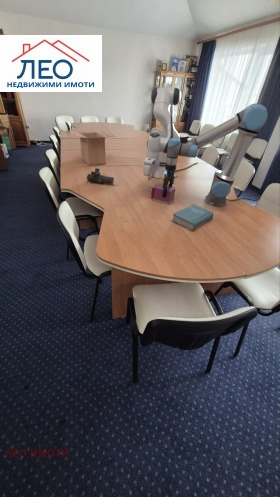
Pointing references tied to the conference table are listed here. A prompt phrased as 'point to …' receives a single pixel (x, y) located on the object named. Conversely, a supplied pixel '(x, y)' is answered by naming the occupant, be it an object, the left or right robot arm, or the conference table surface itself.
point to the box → (92, 146)
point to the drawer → (151, 190)
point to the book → (192, 217)
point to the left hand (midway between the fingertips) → (150, 178)
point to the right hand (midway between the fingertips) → (166, 194)
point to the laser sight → (99, 177)
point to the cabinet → (159, 192)
